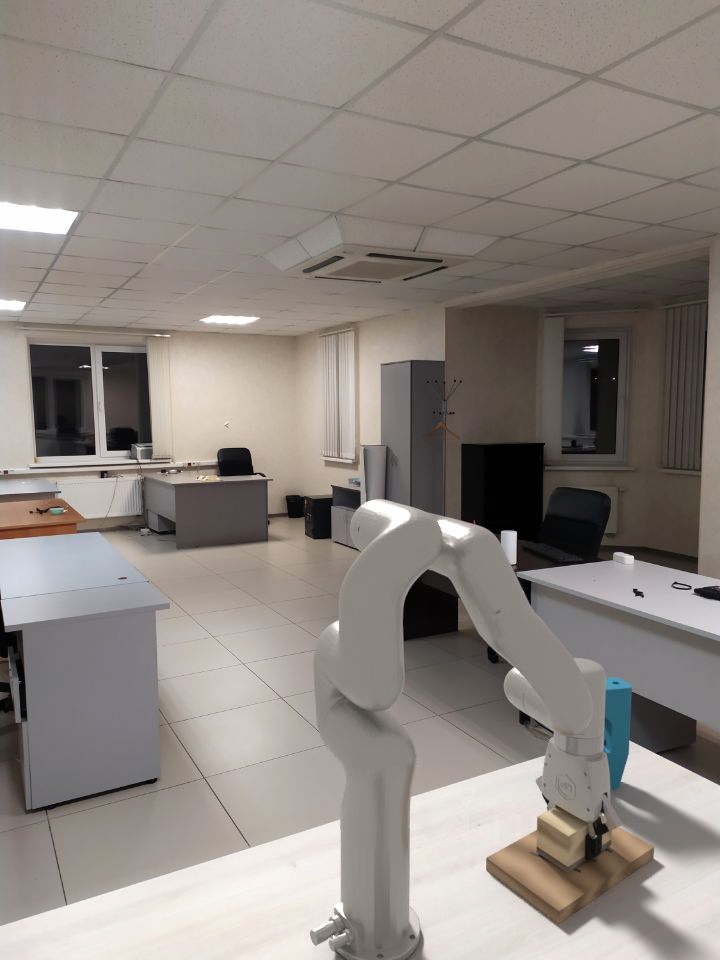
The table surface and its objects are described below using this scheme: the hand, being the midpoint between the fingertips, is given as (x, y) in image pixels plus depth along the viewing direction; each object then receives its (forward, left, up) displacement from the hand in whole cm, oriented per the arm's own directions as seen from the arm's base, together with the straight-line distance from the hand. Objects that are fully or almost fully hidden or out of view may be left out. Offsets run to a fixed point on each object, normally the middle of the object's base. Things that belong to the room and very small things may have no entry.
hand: (574, 844), depth 109 cm
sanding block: (0, 0, -1) cm, 1 cm away
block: (+22, +12, -3) cm, 25 cm away
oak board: (-1, 0, -3) cm, 3 cm away
